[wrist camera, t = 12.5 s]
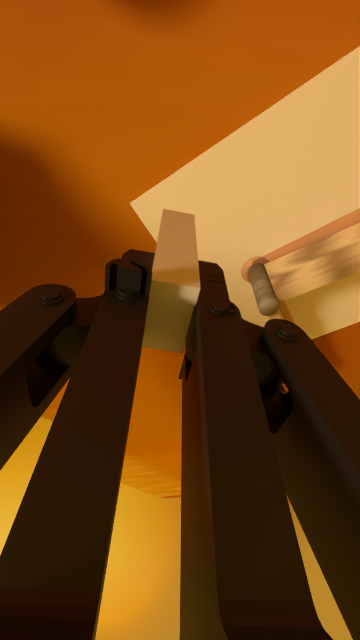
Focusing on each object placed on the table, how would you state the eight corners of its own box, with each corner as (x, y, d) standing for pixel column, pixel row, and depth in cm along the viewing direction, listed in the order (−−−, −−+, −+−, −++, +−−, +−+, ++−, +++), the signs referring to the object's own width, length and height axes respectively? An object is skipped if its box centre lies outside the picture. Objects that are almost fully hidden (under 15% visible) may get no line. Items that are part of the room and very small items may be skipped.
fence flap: (267, 272, 42) (281, 307, 35) (263, 262, 41) (276, 296, 34) (383, 223, 37) (425, 252, 30) (382, 210, 36) (425, 237, 29)
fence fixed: (245, 267, 42) (255, 305, 35) (260, 259, 41) (274, 296, 34) (287, 346, 51) (302, 389, 44) (301, 341, 50) (319, 383, 43)
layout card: (241, 363, 55) (242, 365, 54) (130, 202, 38) (129, 203, 37) (410, 300, 45) (411, 302, 44) (362, 44, 28) (364, 43, 27)
